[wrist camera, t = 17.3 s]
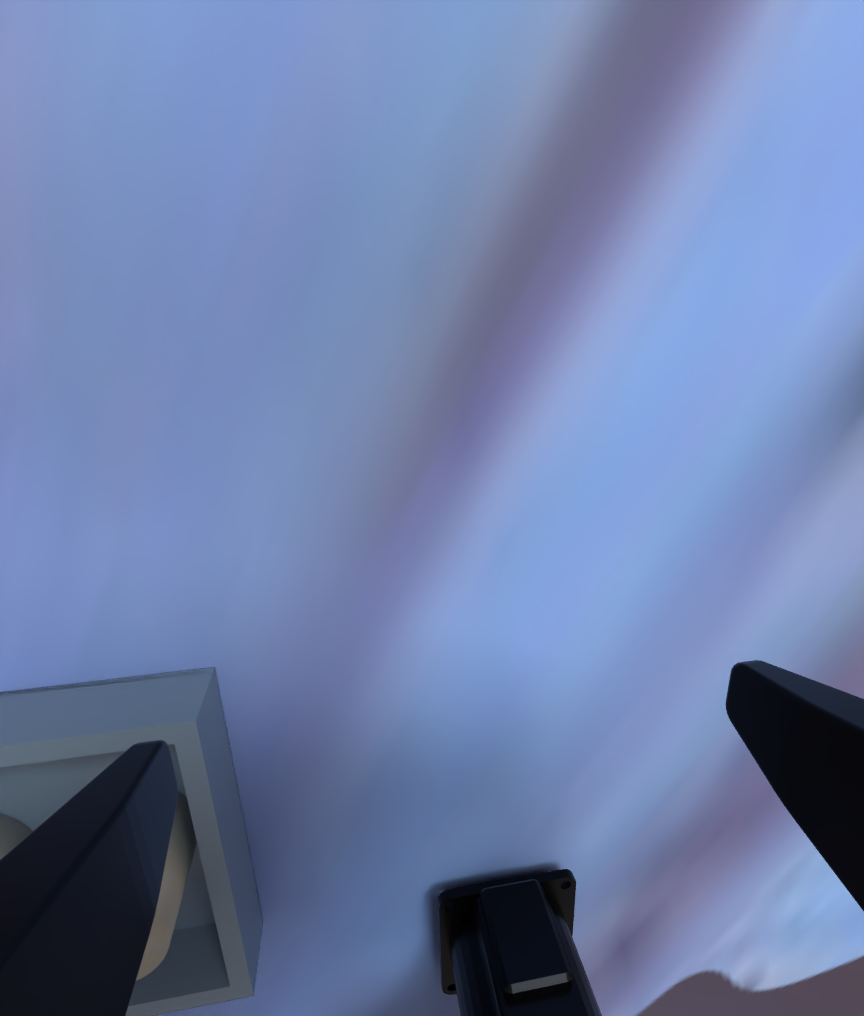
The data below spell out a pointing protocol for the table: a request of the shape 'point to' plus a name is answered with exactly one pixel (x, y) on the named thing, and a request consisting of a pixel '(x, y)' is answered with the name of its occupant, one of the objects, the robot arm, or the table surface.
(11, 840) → the pebble
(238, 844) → the dish
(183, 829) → the pebble
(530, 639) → the table surface
